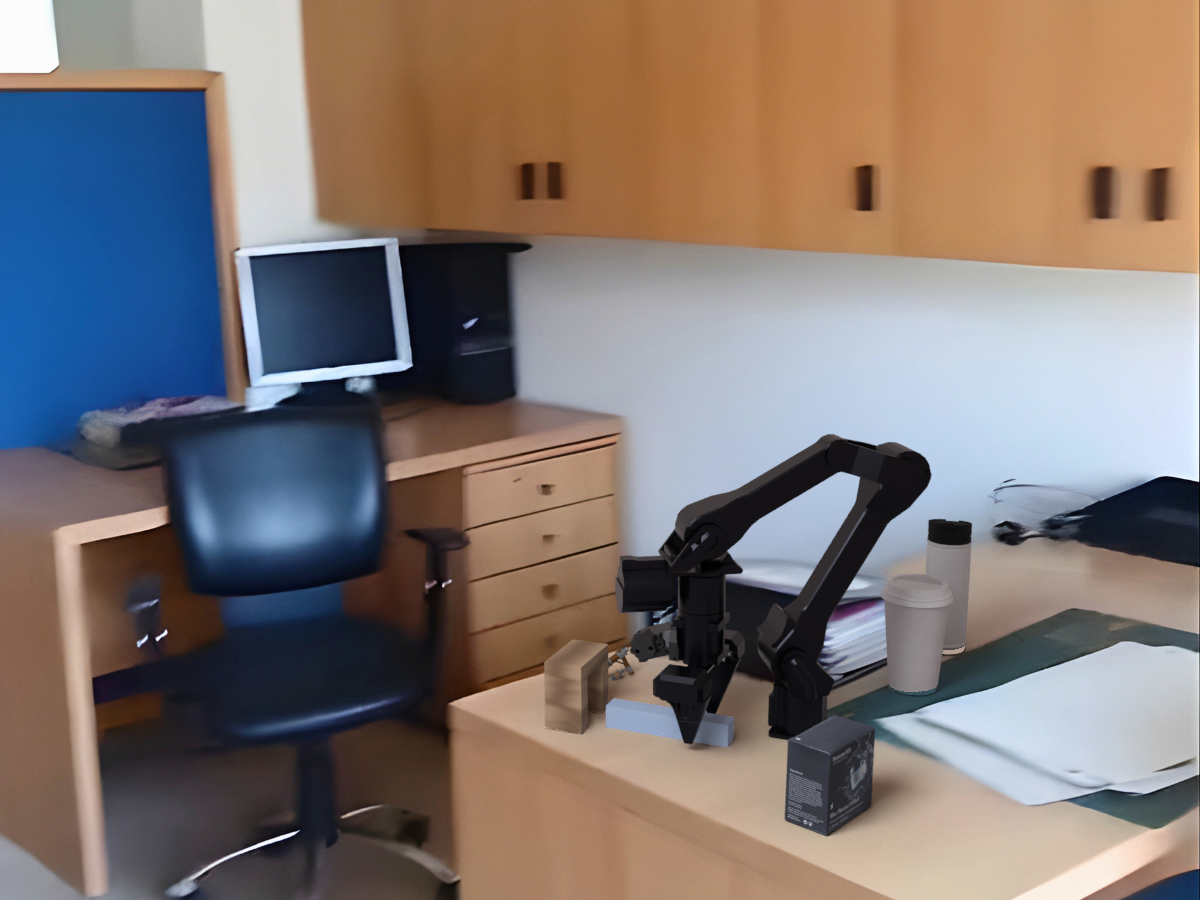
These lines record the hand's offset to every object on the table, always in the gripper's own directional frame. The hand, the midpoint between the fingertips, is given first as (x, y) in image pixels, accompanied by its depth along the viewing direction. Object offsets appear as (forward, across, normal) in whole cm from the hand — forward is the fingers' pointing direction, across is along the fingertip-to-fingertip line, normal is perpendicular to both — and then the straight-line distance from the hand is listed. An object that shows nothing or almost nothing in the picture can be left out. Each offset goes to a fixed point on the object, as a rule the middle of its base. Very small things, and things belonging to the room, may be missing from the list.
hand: (700, 728), depth 154 cm
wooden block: (+1, 0, -16) cm, 17 cm away
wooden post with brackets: (+2, -13, -18) cm, 23 cm away
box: (+2, +14, +19) cm, 23 cm away
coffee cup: (+1, -26, +22) cm, 34 cm away
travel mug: (+1, -43, +24) cm, 50 cm away
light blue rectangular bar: (+2, 0, -4) cm, 4 cm away
